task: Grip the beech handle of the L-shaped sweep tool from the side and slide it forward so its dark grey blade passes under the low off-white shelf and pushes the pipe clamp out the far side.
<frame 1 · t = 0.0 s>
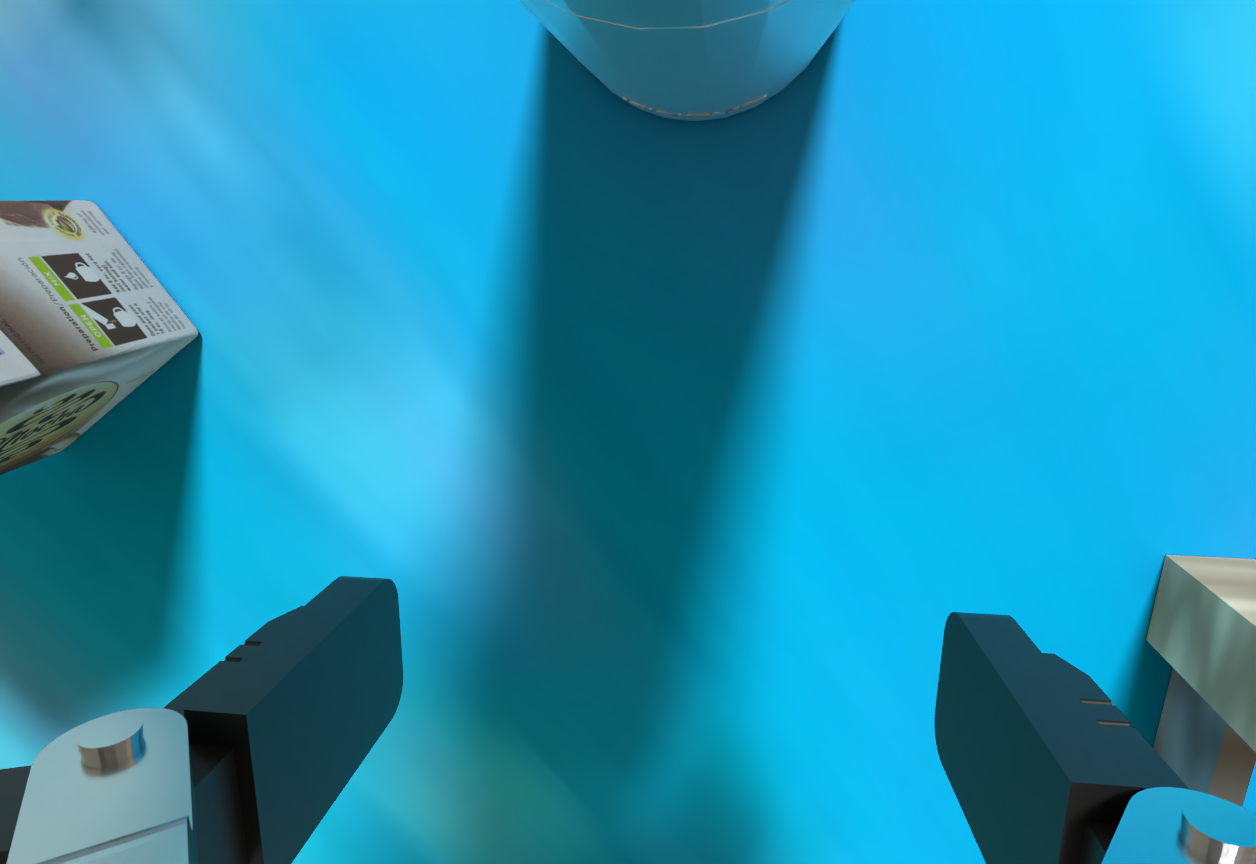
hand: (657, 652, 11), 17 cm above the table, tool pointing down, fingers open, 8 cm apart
tool: (1207, 600, 28), on the table
coffee box: (77, 331, 30), on the table
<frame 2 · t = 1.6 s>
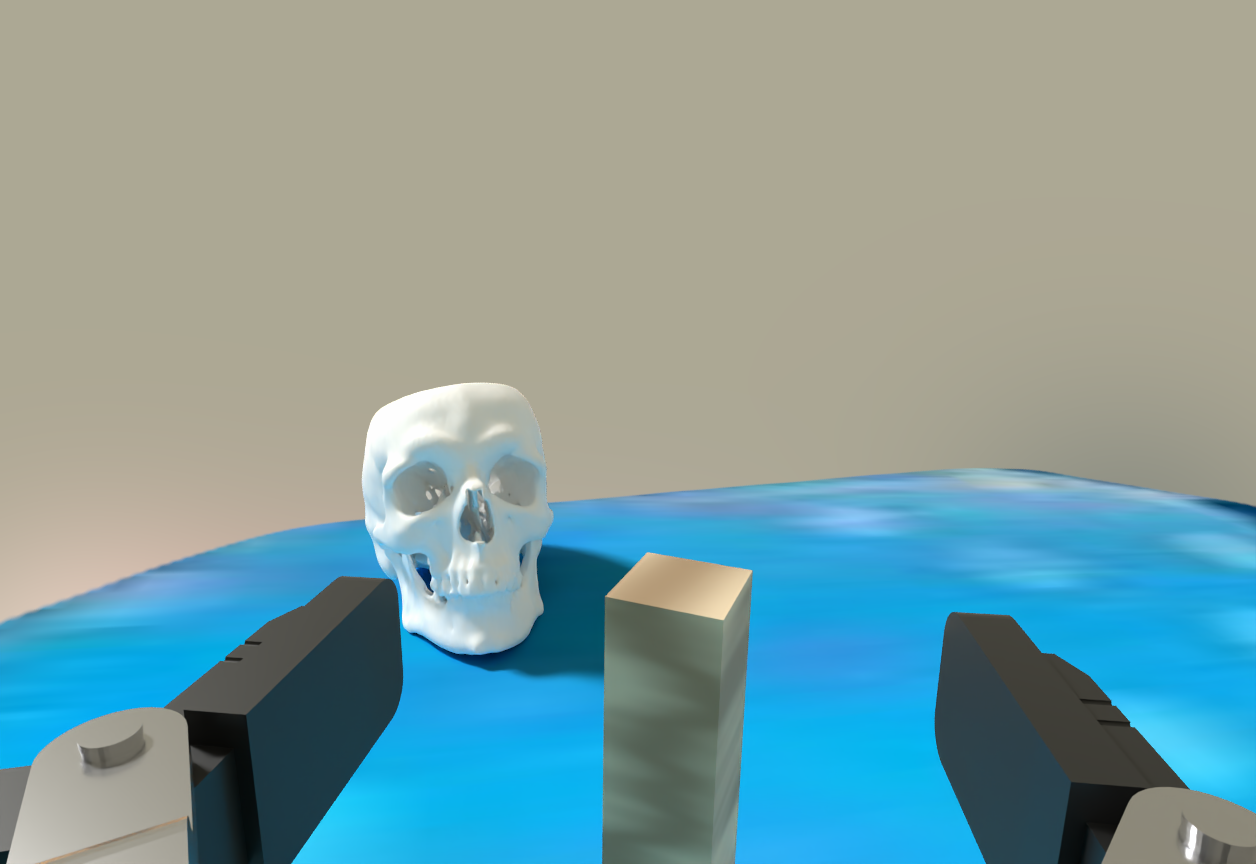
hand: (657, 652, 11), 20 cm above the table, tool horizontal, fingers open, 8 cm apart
skull planter: (464, 592, 58), on the table
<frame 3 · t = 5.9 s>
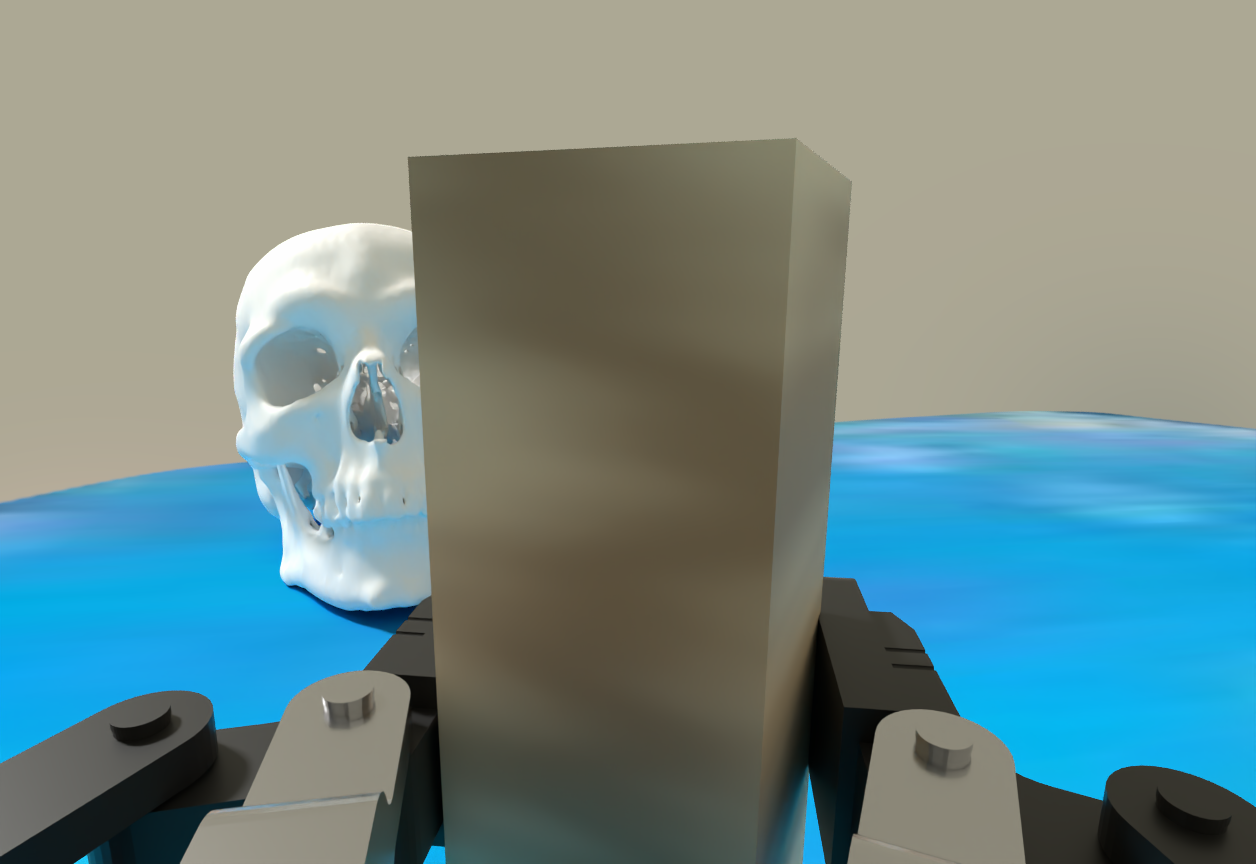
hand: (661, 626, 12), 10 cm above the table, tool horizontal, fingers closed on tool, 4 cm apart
skull planter: (383, 539, 42), on the table
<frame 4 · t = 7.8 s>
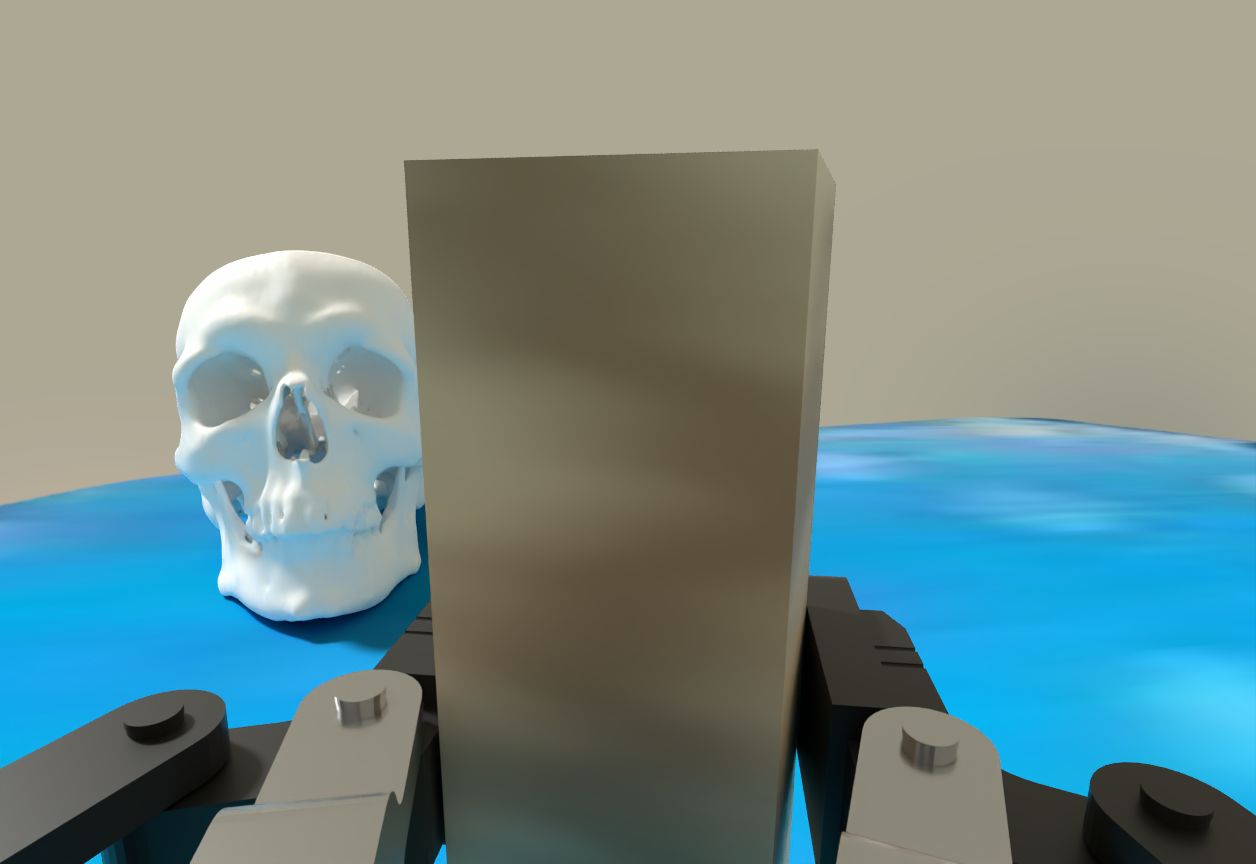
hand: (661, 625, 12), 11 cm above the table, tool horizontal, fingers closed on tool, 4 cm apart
skull planter: (325, 549, 44), on the table
when the fingers open (10 cm above the table, at t = 10.1 s): tool stays where it is, on the table.
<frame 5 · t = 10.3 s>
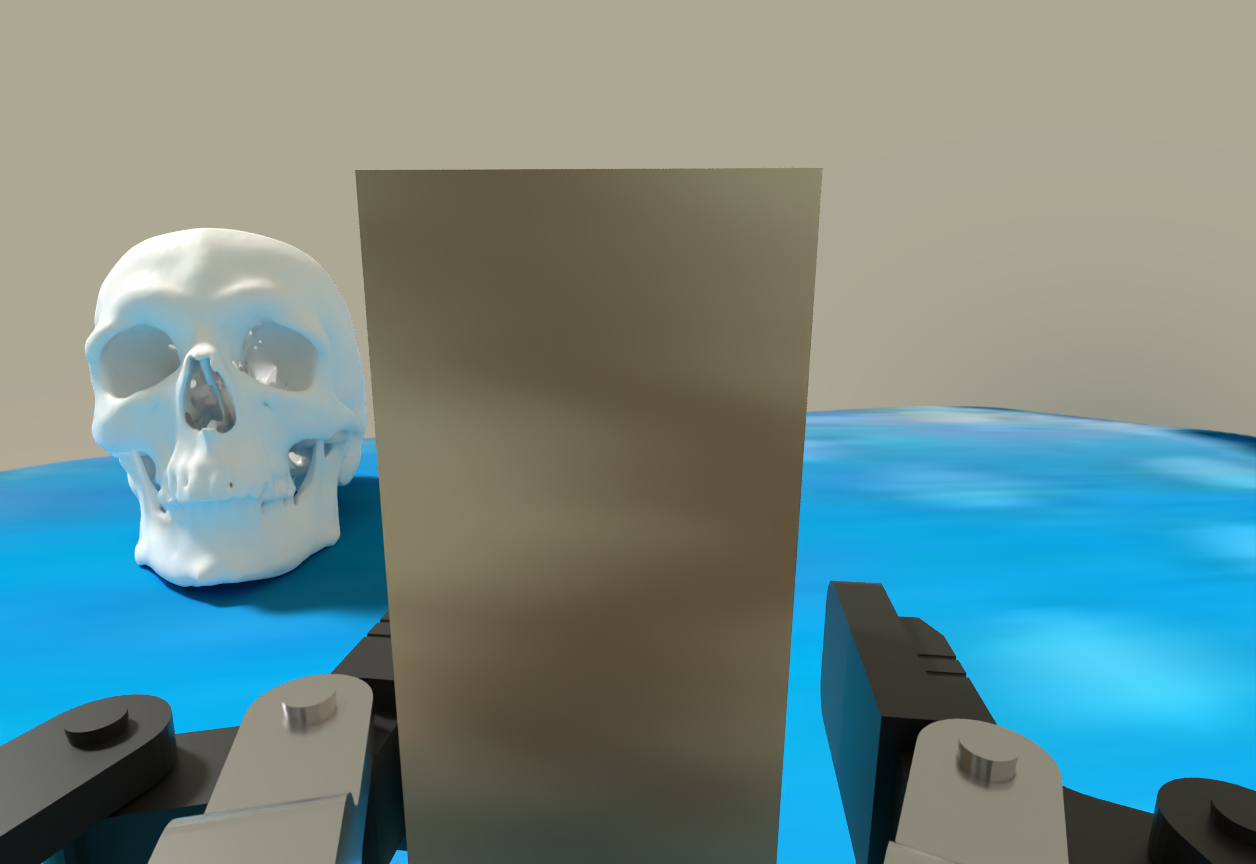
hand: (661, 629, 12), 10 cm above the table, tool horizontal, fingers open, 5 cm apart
skull planter: (251, 524, 45), on the table
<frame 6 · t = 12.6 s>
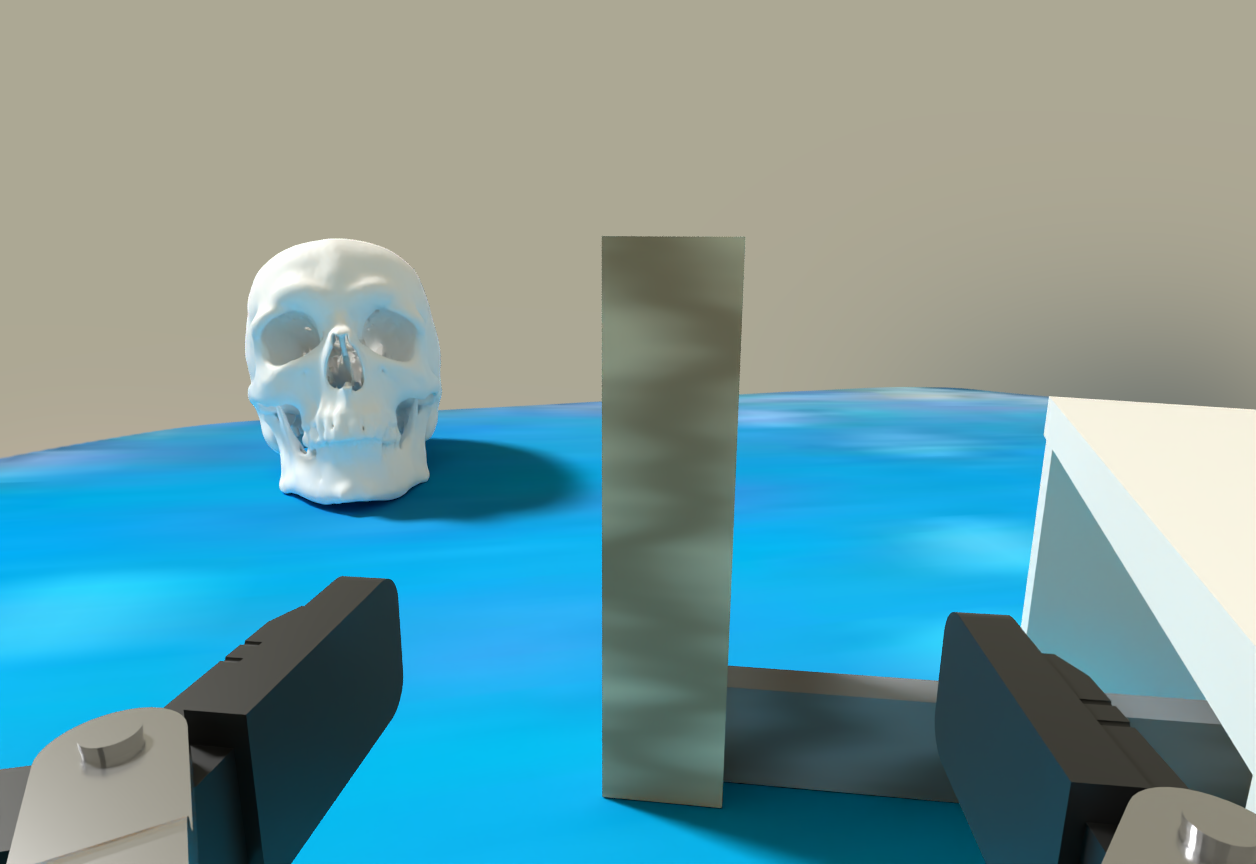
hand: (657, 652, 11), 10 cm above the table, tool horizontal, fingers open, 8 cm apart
skull planter: (355, 469, 57), on the table
tool: (666, 763, 24), on the table
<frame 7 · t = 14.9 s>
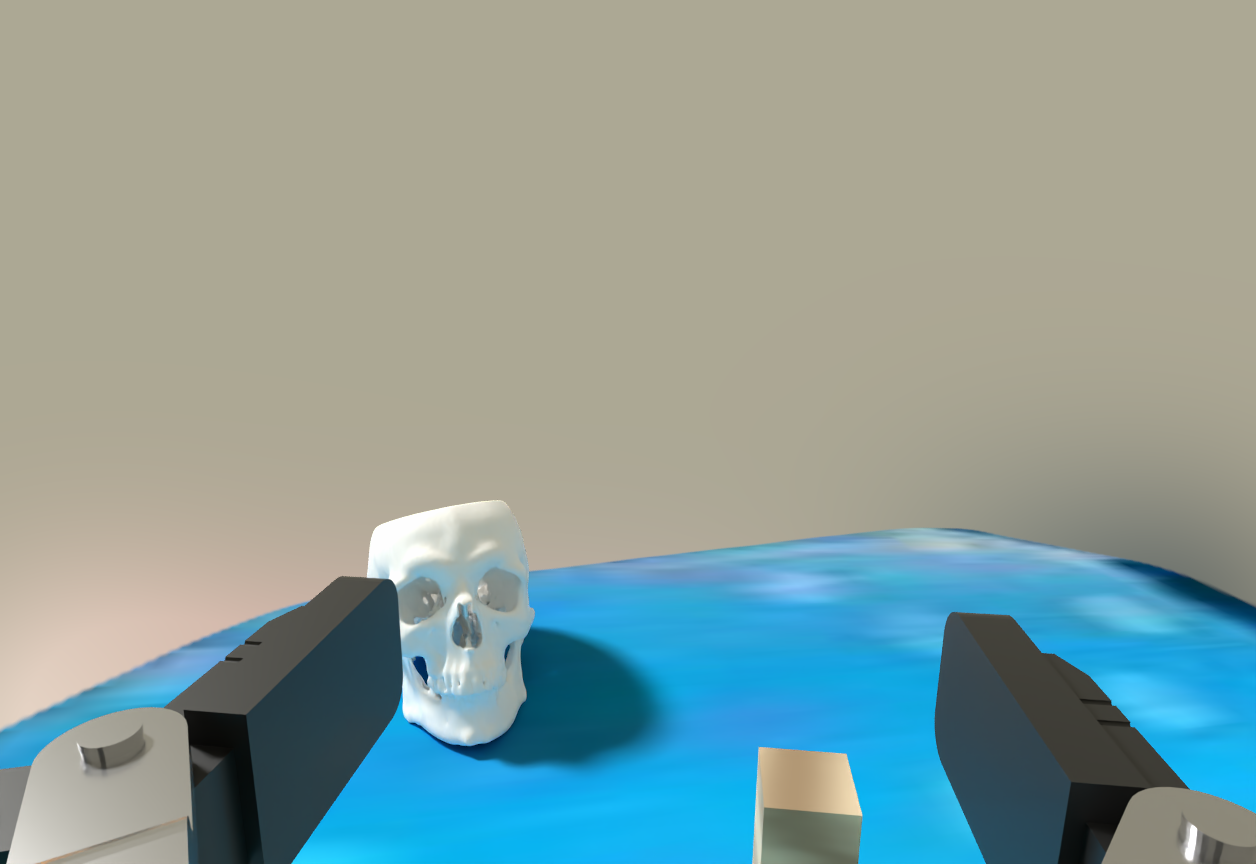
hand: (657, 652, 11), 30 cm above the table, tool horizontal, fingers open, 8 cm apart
skull planter: (457, 678, 66), on the table
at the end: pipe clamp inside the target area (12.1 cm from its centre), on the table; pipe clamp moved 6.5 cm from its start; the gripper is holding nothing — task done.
